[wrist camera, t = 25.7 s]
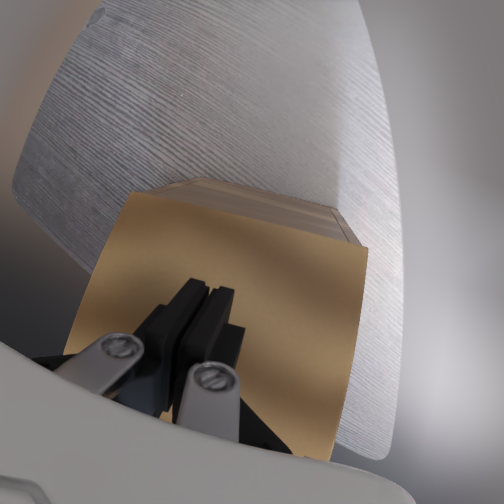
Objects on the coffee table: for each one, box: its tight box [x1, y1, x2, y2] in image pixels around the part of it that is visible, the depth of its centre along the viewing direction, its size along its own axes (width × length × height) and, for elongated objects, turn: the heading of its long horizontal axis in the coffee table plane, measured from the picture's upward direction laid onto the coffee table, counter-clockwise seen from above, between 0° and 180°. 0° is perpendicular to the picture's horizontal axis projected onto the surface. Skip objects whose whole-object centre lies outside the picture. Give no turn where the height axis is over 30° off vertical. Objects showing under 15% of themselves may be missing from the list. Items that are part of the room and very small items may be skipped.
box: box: [141, 177, 362, 246], centre depth 24 cm, size 14×13×12 cm
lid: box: [63, 191, 368, 461], centre depth 13 cm, size 14×13×1 cm
